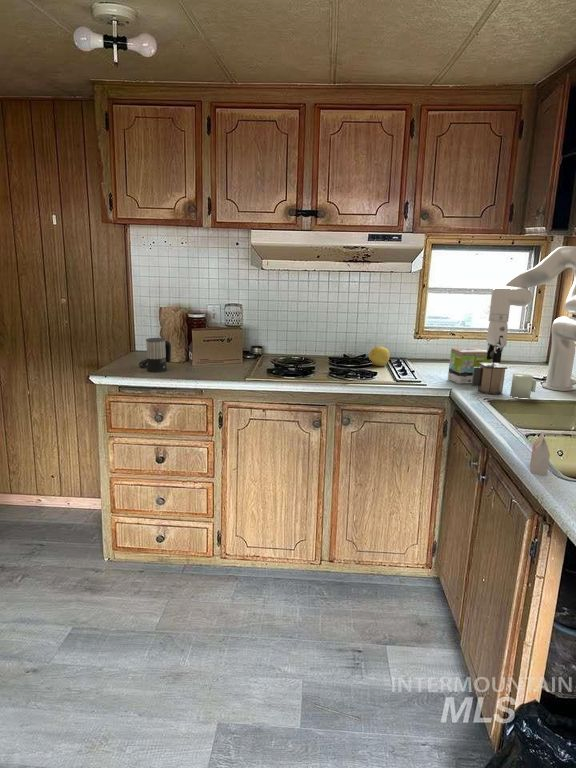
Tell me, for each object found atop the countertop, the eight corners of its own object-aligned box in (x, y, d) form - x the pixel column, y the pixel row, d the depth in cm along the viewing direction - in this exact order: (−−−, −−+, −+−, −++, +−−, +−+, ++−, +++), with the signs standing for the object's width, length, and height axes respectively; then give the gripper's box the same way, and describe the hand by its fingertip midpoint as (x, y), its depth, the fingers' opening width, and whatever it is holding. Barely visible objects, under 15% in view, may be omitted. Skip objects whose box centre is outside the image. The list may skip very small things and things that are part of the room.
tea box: (459, 384, 236) (463, 352, 232) (447, 379, 245) (450, 348, 242) (488, 383, 240) (492, 351, 236) (474, 378, 249) (478, 347, 246)
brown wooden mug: (496, 389, 229) (500, 362, 226) (506, 395, 219) (509, 367, 217) (467, 388, 229) (470, 362, 226) (475, 394, 219) (478, 367, 216)
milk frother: (162, 373, 242) (161, 341, 238) (130, 371, 244) (128, 339, 241) (173, 366, 256) (172, 336, 252) (143, 364, 258) (141, 334, 254)
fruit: (392, 365, 272) (393, 346, 270) (382, 368, 264) (383, 349, 262) (374, 362, 279) (376, 343, 276) (364, 365, 270) (365, 346, 268)
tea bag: (544, 466, 145) (550, 432, 142) (546, 476, 139) (552, 440, 136) (530, 464, 146) (535, 430, 144) (531, 473, 140) (536, 438, 138)
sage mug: (528, 394, 221) (531, 373, 219) (537, 399, 214) (540, 378, 212) (507, 394, 221) (509, 373, 219) (514, 399, 214) (517, 377, 212)
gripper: (516, 320, 208) (510, 365, 213) (499, 315, 225) (494, 357, 229) (497, 320, 208) (492, 365, 213) (482, 315, 225) (477, 356, 229)
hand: (493, 360), depth 221 cm, fingers open, 5 cm apart
